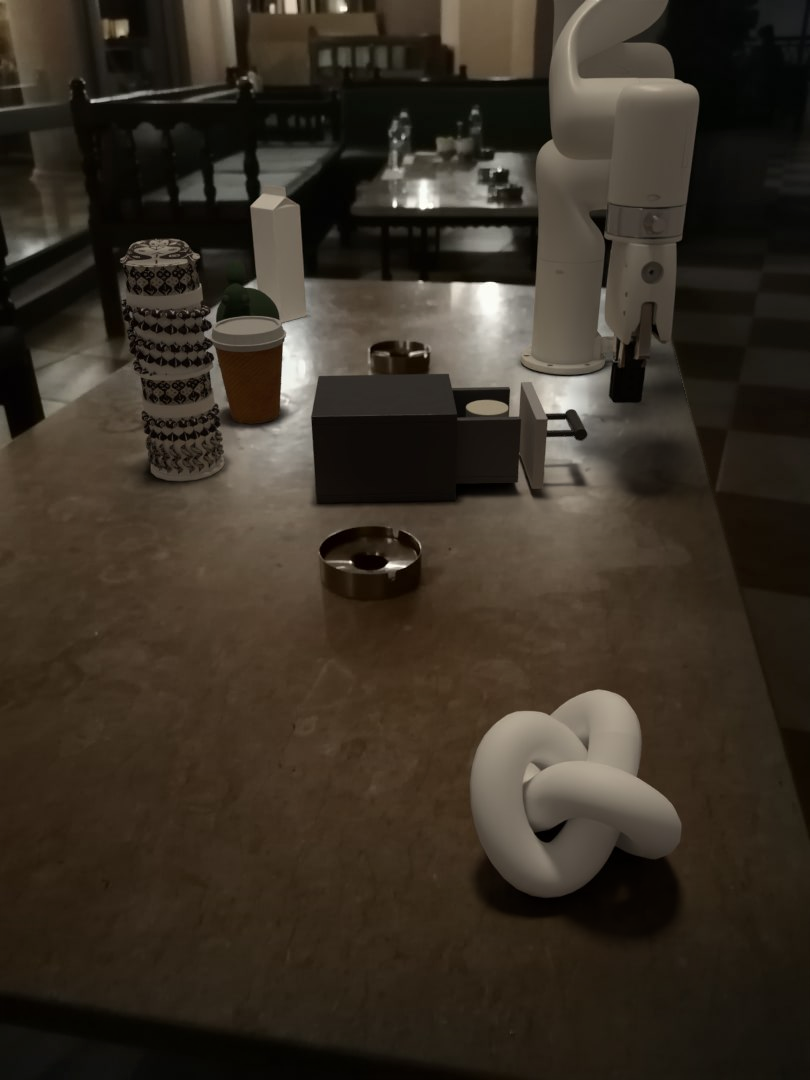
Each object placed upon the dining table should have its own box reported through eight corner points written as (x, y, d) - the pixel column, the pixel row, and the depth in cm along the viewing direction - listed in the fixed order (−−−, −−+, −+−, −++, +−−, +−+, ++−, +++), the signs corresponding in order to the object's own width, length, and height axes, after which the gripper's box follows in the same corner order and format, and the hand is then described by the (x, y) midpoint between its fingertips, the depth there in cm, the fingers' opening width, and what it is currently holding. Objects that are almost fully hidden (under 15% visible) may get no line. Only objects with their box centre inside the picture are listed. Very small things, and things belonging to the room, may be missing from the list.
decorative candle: (130, 476, 103) (91, 248, 91) (175, 446, 110) (145, 232, 98) (200, 487, 100) (170, 254, 88) (241, 455, 107) (219, 237, 95)
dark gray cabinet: (447, 453, 108) (448, 373, 103) (455, 500, 96) (457, 413, 92) (323, 455, 107) (318, 375, 103) (316, 503, 96) (311, 416, 91)
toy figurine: (281, 408, 126) (283, 340, 147) (269, 272, 115) (273, 220, 136) (212, 411, 125) (224, 343, 146) (194, 275, 115) (210, 222, 135)
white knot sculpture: (529, 965, 48) (540, 844, 43) (427, 812, 57) (428, 700, 53) (697, 889, 52) (722, 771, 48) (576, 758, 62) (588, 651, 57)
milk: (281, 323, 158) (271, 189, 148) (259, 317, 162) (247, 186, 151) (307, 316, 162) (298, 185, 152) (285, 310, 166) (275, 182, 155)
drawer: (568, 445, 107) (574, 381, 103) (588, 487, 97) (595, 418, 93) (412, 448, 107) (411, 383, 103) (415, 491, 96) (415, 421, 93)
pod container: (503, 449, 103) (505, 399, 100) (508, 466, 99) (511, 414, 96) (463, 450, 103) (464, 400, 100) (466, 466, 99) (467, 415, 96)
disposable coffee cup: (278, 431, 114) (271, 337, 108) (207, 426, 116) (196, 333, 110) (301, 405, 122) (295, 316, 117) (234, 400, 124) (225, 313, 118)
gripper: (706, 235, 83) (679, 424, 91) (661, 210, 96) (641, 378, 104) (624, 236, 83) (605, 425, 91) (590, 211, 96) (576, 379, 104)
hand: (624, 400), depth 98 cm, fingers closed
